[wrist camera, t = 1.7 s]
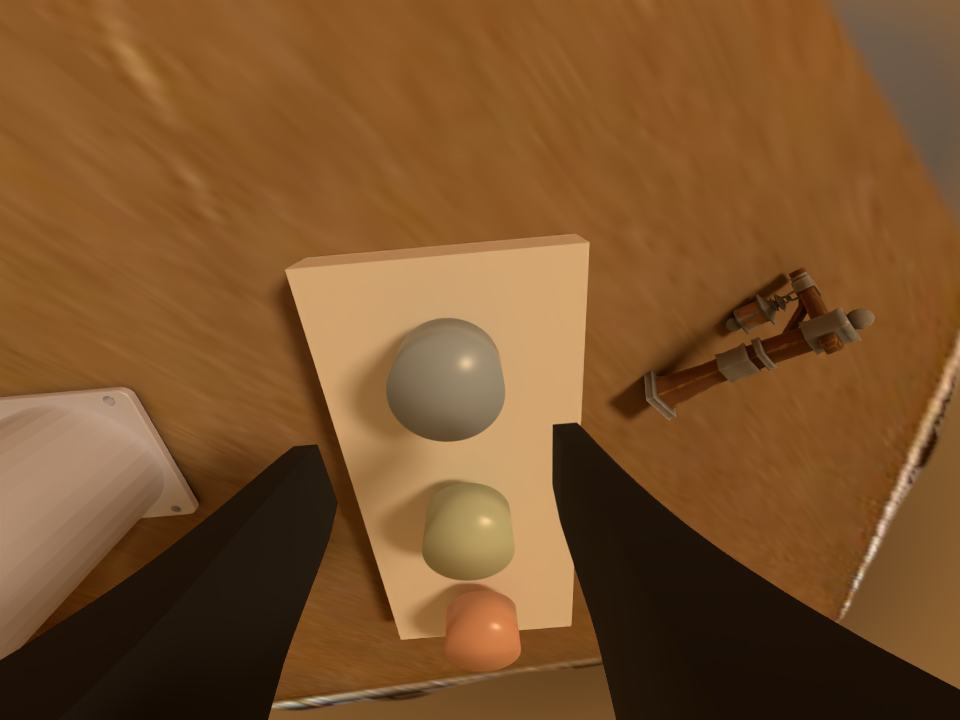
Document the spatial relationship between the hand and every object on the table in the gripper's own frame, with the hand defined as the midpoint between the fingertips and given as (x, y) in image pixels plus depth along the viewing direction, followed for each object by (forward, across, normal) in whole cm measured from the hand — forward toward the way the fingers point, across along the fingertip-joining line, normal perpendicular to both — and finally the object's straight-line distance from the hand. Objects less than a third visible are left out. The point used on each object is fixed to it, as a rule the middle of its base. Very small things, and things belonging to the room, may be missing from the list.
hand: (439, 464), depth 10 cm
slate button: (+6, 0, 0) cm, 6 cm away
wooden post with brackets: (+9, -12, +1) cm, 15 cm away
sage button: (+6, 0, +8) cm, 10 cm away
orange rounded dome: (+6, 0, +16) cm, 17 cm away
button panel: (+8, 0, +8) cm, 12 cm away
